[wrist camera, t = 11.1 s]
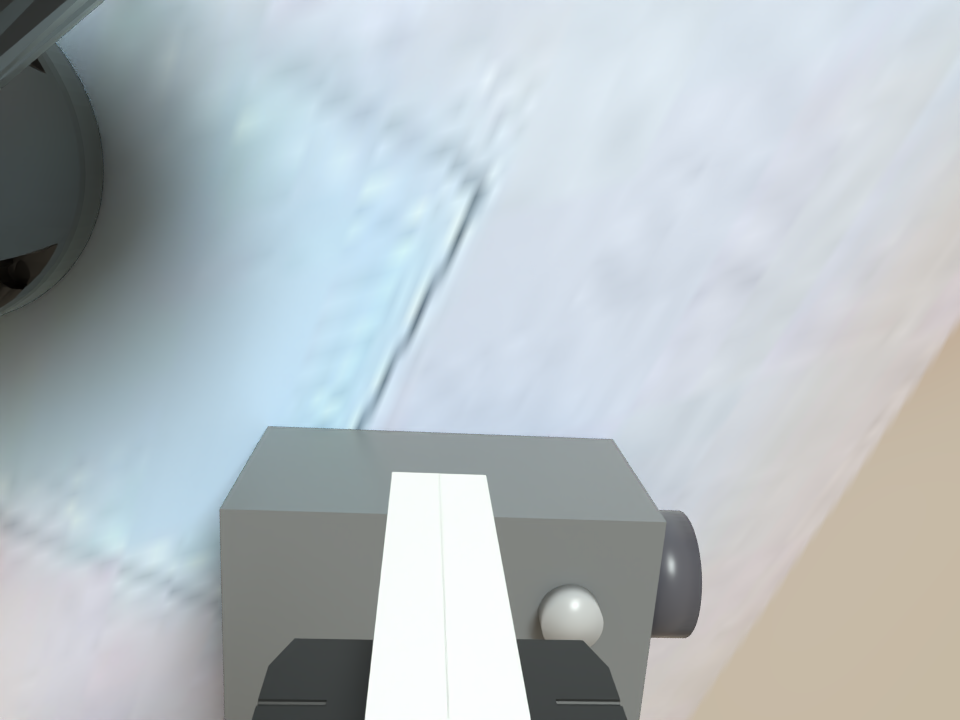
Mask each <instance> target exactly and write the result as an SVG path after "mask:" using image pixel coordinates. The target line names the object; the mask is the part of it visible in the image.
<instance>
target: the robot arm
mask: <svg viewBox="0 0 960 720" xmlns="http://www.w3.org/2000/svg"><path fill="white" fill-rule="evenodd" d="M103 1H105V0H0V315H2V314H5V313H8V312H10V311H13V310H15V309H18V308H20V307H22V306H24V305H26V304H28V303H29V302H31V301H33V300H35V299H36V298H38V297H39V296H41V295H42V294H44V293H45V292H46V291H48V290H49V289H50V288H51V287H52V286H54V285H55V284H56V283H57V282H58V281H59V280H60V279H61V278H62V277H63V276H64V275H65V274H66V273H67V272H68V270H69V269H70V268H71V267H72V266H73V264H74V263H75V261H76V260H77V259H78V257H79V256H80V254H81V252H82V251H83V249H84V247H85V245H86V243H87V241H88V239H89V237H90V235H91V233H92V230H93V227H94V225H95V222H96V218H97V215H98V211H99V207H100V202H101V196H102V188H103V156H102V147H101V141H100V135H99V131H98V126H97V122H96V119H95V116H94V113H93V109H92V107H91V104H90V101H89V99H88V96H87V94H86V92H85V90H84V88H83V86H82V83H81V81H80V79H79V78H78V76H77V74H76V72H75V71H74V69H73V67H72V65H71V64H70V62H69V61H68V59H67V58H66V56H65V55H64V53H63V52H62V51H61V49H60V48H59V47H58V45H57V44H56V43H55V42H57V41H58V40H59V39H60V38H61V37H62V36H64V35H65V34H66V33H67V32H68V31H69V30H71V29H72V28H73V27H74V26H75V25H76V24H78V23H79V22H80V21H81V20H82V19H84V18H85V17H86V16H87V15H88V14H89V13H91V12H92V11H93V10H94V9H95V8H96V7H98V6H99V5H100V4H101V3H102V2H103ZM252 720H627V717H626V714H625V712H624V709H623V706H621V705H620V697H619V695H618V692H617V689H616V686H615V683H614V681H613V678H612V675H611V672H610V669H609V667H608V666H607V665H606V664H605V663H604V662H603V661H602V660H601V659H600V658H599V657H598V656H597V654H596V653H595V652H594V651H593V650H592V649H591V648H590V647H589V646H588V645H587V644H586V643H585V642H584V641H583V640H540V639H516V636H515V631H514V625H513V620H512V614H511V609H510V604H509V598H508V593H507V587H506V582H505V576H504V571H503V565H502V560H501V554H500V549H499V543H498V538H497V533H496V527H495V522H494V516H493V511H492V505H491V500H490V494H489V489H488V483H487V478H486V475H469V474H440V473H411V472H392V478H391V487H390V497H389V506H388V515H387V524H386V533H385V542H384V551H383V560H382V569H381V578H380V587H379V596H378V605H377V614H376V623H375V632H374V640H362V639H301V638H294V639H293V641H292V642H291V643H290V644H289V645H288V646H287V647H286V648H285V649H284V650H283V651H282V652H281V653H280V654H279V655H278V656H277V657H276V658H275V659H274V660H273V661H272V663H271V664H270V665H269V666H268V669H267V672H266V675H265V678H264V681H263V685H262V688H261V691H260V694H259V698H258V705H257V706H256V707H255V710H254V714H253V717H252Z"/></svg>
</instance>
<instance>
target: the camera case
mask: <svg viewBox="0 0 960 720" xmlns="http://www.w3.org/2000/svg"><path fill="white" fill-rule="evenodd" d="M392 472H411V473H440V474H469V475H486V478H487V483H488V489H489V494H490V500H491V505H492V511H493V516H494V522H495V527H496V533H497V538H498V543H499V549H500V554H501V560H502V565H503V571H504V576H505V582H506V587H507V593H508V598H509V604H510V609H511V614H512V620H513V625H514V631H515V636H516V639H540V640H583V641H584V642H585V643H586V644H587V645H588V646H589V647H590V648H591V649H592V650H593V651H594V652H595V653H596V654H597V656H598V657H599V658H600V659H601V660H602V661H603V662H604V663H605V664H606V665H607V666H608V667H609V669H610V672H611V675H612V678H613V681H614V683H615V686H616V689H617V692H618V695H619V697H620V705H621V706H623V709H624V712H625V714H626V717H627V720H639V718H640V711H641V703H642V696H643V689H644V682H645V675H646V667H647V660H648V653H649V646H650V638H687V637H688V636H690V635H691V633H692V632H693V630H694V628H695V626H696V623H697V620H698V616H699V611H700V605H701V595H702V571H701V560H700V553H699V547H698V543H697V539H696V535H695V532H694V529H693V527H692V525H691V522H690V521H689V519H688V517H687V516H686V515H685V514H684V513H683V512H681V511H673V510H658V508H657V507H656V505H655V503H654V502H653V500H652V499H651V497H650V496H649V494H648V493H647V491H646V490H645V488H644V487H643V485H642V484H641V482H640V480H639V479H638V477H637V476H636V474H635V473H634V471H633V470H632V468H631V467H630V465H629V464H628V462H627V461H626V459H625V457H624V456H623V454H622V453H621V451H620V450H619V448H618V447H617V445H616V444H615V442H614V441H613V439H589V438H563V437H536V436H510V435H484V434H457V433H431V432H405V431H378V430H352V429H326V428H299V427H273V426H268V427H267V429H266V431H265V433H264V434H263V436H262V438H261V439H260V441H259V443H258V444H257V446H256V448H255V450H254V451H253V453H252V455H251V456H250V458H249V460H248V462H247V463H246V465H245V467H244V468H243V470H242V472H241V473H240V475H239V477H238V479H237V480H236V482H235V484H234V485H233V487H232V489H231V491H230V492H229V494H228V496H227V497H226V499H225V501H224V502H223V504H222V506H221V508H220V546H221V589H222V632H223V674H224V717H225V720H252V717H253V714H254V710H255V707H256V706H257V705H258V698H259V694H260V691H261V688H262V685H263V681H264V678H265V675H266V672H267V669H268V666H269V665H270V664H271V663H272V661H273V660H274V659H275V658H276V657H277V656H278V655H279V654H280V653H281V652H282V651H283V650H284V649H285V648H286V647H287V646H288V645H289V644H290V643H291V642H292V641H293V639H294V638H301V639H362V640H374V632H375V623H376V614H377V605H378V596H379V587H380V578H381V569H382V560H383V551H384V542H385V533H386V524H387V515H388V506H389V497H390V487H391V478H392Z"/></svg>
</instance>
